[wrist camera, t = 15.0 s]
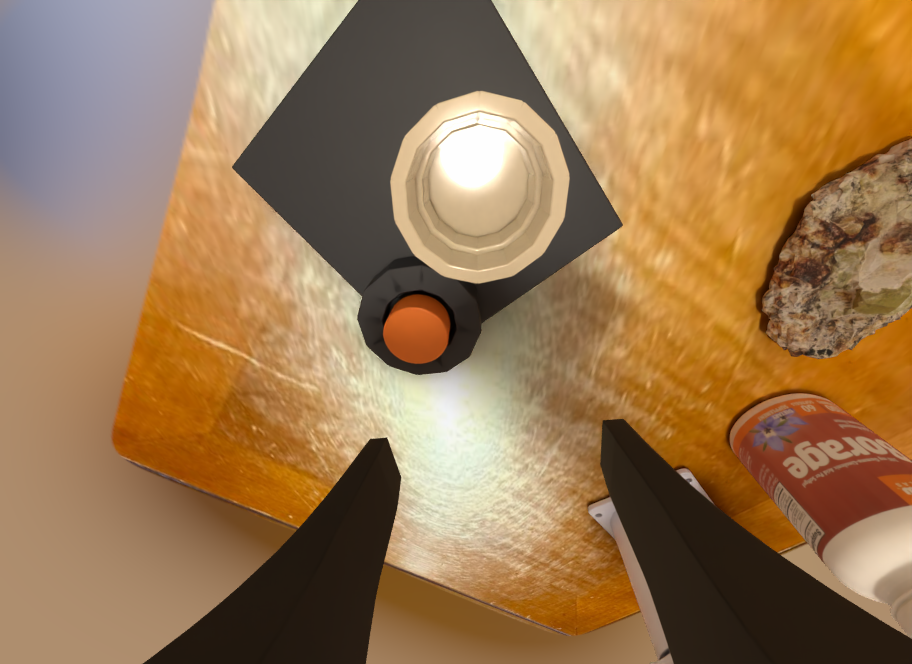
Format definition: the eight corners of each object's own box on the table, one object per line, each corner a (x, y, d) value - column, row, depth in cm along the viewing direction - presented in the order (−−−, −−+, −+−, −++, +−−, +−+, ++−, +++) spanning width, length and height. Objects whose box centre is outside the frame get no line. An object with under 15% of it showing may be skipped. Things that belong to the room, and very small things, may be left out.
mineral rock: (936, 83, 12) (1220, 165, 10) (850, 103, 15) (1052, 165, 14) (718, 336, 17) (890, 407, 16) (694, 306, 21) (831, 361, 20)
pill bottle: (834, 376, 20) (1169, 592, 10) (831, 444, 23) (1097, 669, 13) (719, 407, 22) (916, 621, 12) (729, 468, 24) (897, 684, 14)
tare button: (462, 326, 17) (461, 342, 15) (418, 357, 18) (414, 375, 16) (422, 281, 16) (416, 294, 14) (377, 317, 17) (369, 332, 15)
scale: (617, 227, 17) (644, 242, 14) (423, 361, 21) (416, 392, 18) (437, -75, 12) (426, -137, 9) (238, 179, 16) (193, 186, 14)
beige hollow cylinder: (569, 193, 15) (603, 211, 11) (467, 272, 17) (464, 312, 13) (491, 70, 13) (498, 37, 9) (386, 176, 15) (353, 188, 11)
